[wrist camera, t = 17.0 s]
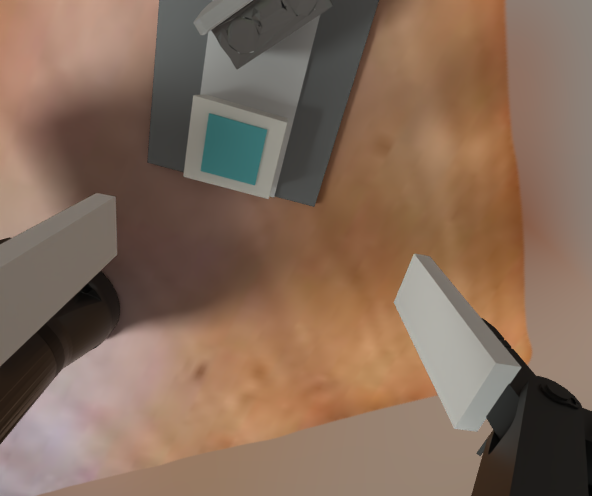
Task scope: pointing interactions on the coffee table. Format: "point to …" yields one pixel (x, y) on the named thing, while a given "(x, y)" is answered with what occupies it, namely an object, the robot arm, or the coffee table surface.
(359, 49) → the rail board
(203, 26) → the electrical switch
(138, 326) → the coffee table surface
